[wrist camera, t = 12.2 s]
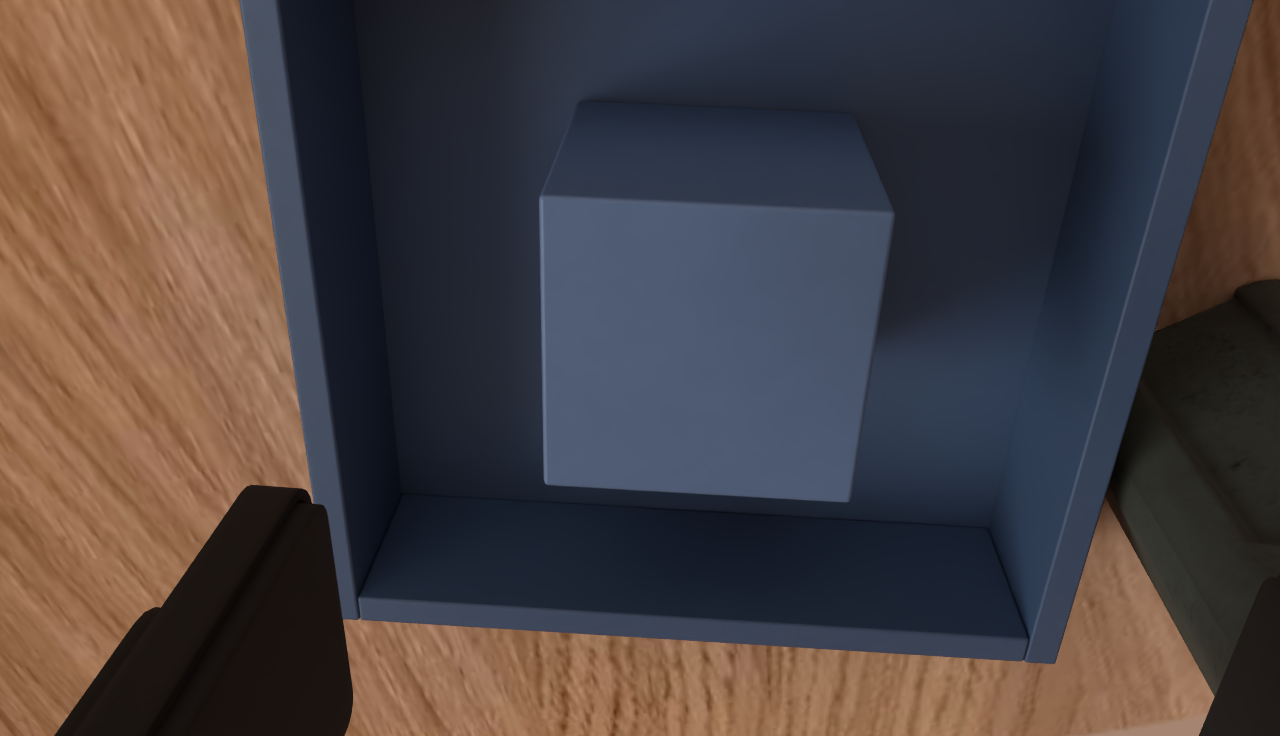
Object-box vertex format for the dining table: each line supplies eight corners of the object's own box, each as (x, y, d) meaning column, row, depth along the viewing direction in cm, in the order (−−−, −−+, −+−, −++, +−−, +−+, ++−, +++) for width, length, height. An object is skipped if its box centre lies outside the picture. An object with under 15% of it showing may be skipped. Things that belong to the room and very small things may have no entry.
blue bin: (1179, -166, 17) (1300, -150, 14) (1005, 535, 24) (1055, 665, 21) (308, -198, 18) (209, -190, 14) (383, 499, 25) (329, 619, 21)
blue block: (854, 111, 19) (897, 213, 15) (822, 357, 22) (851, 504, 17) (576, 99, 19) (537, 195, 15) (576, 343, 22) (543, 487, 17)
